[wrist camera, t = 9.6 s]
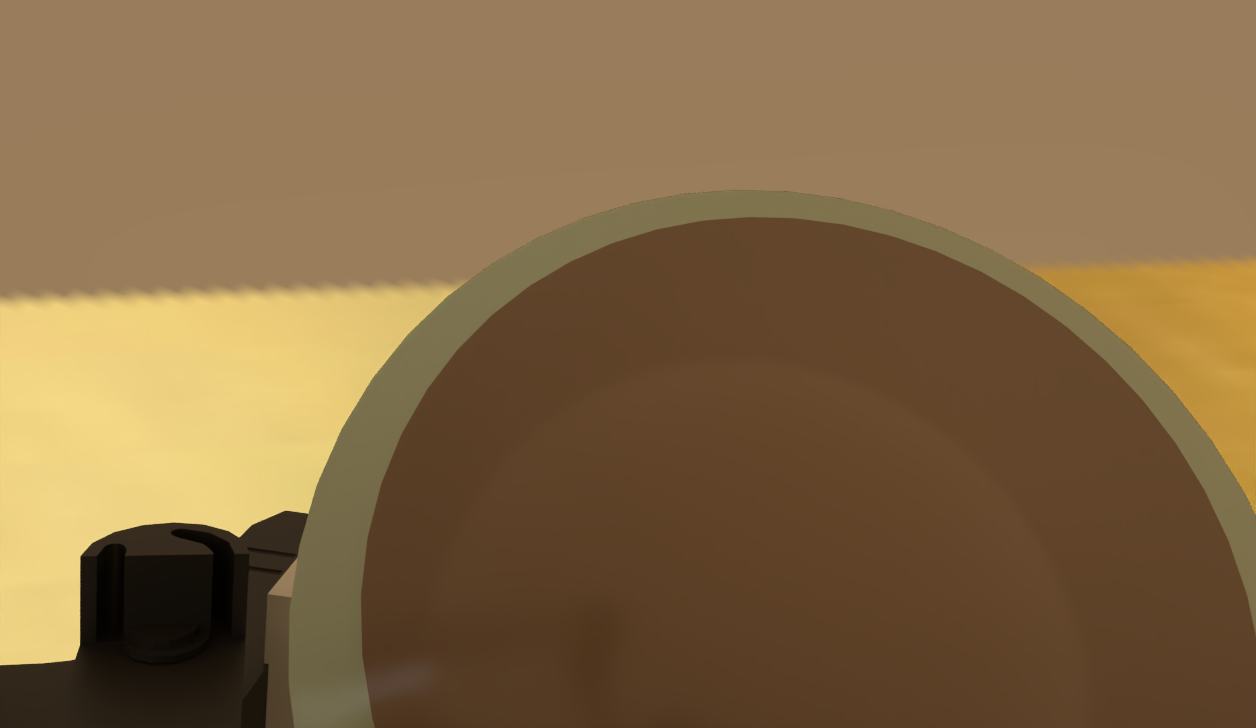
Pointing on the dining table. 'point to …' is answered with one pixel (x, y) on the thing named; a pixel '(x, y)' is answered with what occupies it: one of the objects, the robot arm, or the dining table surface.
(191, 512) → the dining table surface
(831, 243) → the pale green cup
